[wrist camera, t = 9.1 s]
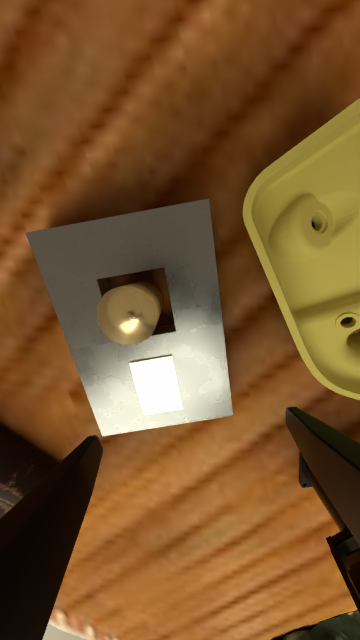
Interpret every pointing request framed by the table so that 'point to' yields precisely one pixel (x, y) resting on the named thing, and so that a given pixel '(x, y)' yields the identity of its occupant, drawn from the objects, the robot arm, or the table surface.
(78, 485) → the robot arm
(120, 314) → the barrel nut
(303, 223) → the plastic component
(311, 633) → the rose bouquet
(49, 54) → the table surface
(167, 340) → the flange plate
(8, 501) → the diary
